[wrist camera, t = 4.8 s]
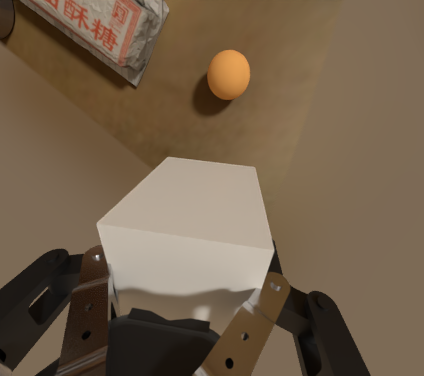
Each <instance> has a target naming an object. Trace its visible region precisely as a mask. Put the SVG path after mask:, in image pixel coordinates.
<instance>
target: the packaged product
mask: <svg viewBox="0 0 424 376" xmlns="http://www.w3.org/2000/svg"><path fill="white" fill-rule="evenodd" d="M20 1H21V2H22V3H24V4H25V5H26V6H28V7H29V8H31V9H32V10H34V11H35V12H36V13H38V14H39V15H40V16H42V17H43V18H44V19H46V20H47V21H48V22H50V23H51V24H52V25H54V26H55V27H56V28H58V29H59V30H60V31H62V32H63V33H64V34H66V35H67V36H69V37H70V38H71V39H72V40H74V41H75V42H76V43H78V44H79V45H81V46H82V47H84V48H86V49H88V50H89V51H90V53H92V54H93V55H94V56H96V57H97V58H98V59H100V60H101V61H102V62H104V63H105V64H107V65H108V66H110V67H111V68H112V69H113V70H115V71H116V72H117V73H119V74H120V75H121V76H123V77H124V78H125V79H127V80H128V81H129V82H131V83H132V84H134V85H135V86H136V87H137V86H138V84H139V82H140V80H141V77H142V75H143V73H144V71H145V68H146V66H147V63H148V61H149V59H150V56H151V54H152V51H153V48H154V46H155V43H156V41H157V39H158V36H159V34H160V32H161V29H162V27H163V25H164V22H165V20H166V17H167V15H168V12H169V8H168V6H167V5H166V3H165V2H164V0H20Z"/></svg>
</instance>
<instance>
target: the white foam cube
mask: <svg viewBox="0 0 424 376" xmlns="http://www.w3.org/2000/svg"><path fill="white" fill-rule="evenodd" d="M96 225H97V228H98V232H99V235H100V239H101V243H102V246H103V250H104V253H105V257H106V260H107V263H109V264H111V266H112V270H113V285H114V289H118V292H119V306H120V310H121V314H122V315H126V314H129V313H130V311H131V309H132V308H138V309H143V310H149V311H152V312H154V313H156V314H158V315H159V316H161V317H163V318H165V319H167V320H178V319H187V318H192V319H198V320H203V321H209V322H210V327H209V328H210V329H212V330H214V331H215V332H216V333H218V334H219V335H220V336H221V335H222V334H223V332H224V331H225V329H226V328H227V326H228V325H229V324H230V322H231V321H232V319H233V318H234V316H235V315H236V313H237V312H238V310H239V309H240V307H241V306H242V304H243V303H244V302H245V301H248V300H249V298H250V297H251V295H252V294H253V292H254V291H255V289H256V288H260V289H262V286H263V283H264V280H265V277H266V274H267V271H268V268H269V265H270V262H271V259H272V256H273V253H274V246H273V242H272V238H271V233H270V229H269V225H268V221H267V216H266V212H265V208H264V204H263V199H262V195H261V191H260V187H259V182H258V178H257V174H256V169H255V167H249V166H241V165H233V164H224V163H216V162H208V161H199V160H191V159H183V158H174V157H167V158H166V159H165V160H164V161H163V162H162V163H161V164H160V165H159V166H158V167H157V168H156V169H154V170H153V171H152V172H151V173H150V174H149V175H148V176H147V177H146V178H145V179H144V180H143V181H141V182H140V183H139V184H138V185H137V186H136V187H135V188H134V189H133V190H132V191H131V192H130V193H129V194H127V195H126V196H125V197H124V198H123V199H122V200H121V201H120V202H119V203H118V204H117V205H116V206H115V207H114V208H112V209H111V210H110V211H109V212H108V213H107V214H106V215H105V216H104V217H103V218H102V219H101V220H99V221H98V222H97V223H96Z"/></svg>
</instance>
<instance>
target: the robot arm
mask: <svg viewBox="0 0 424 376" xmlns="http://www.w3.org/2000/svg"><path fill="white" fill-rule="evenodd" d="M13 22H14V10H13V3H12V0H0V39H1V38H4V37H6V36H7V35H8V34H9V33H10V31H11V29H12V26H13ZM272 242H273V246H274V253H273V256H272V259H271V262H270V265H269V268H268V271H267V274H266V277H265V280H264V283H263V286H262V289H260V288H256V289H255V291H254V292H253V294H252V295H251V297H250V298H249V300H248V301H245V302H244V303H243V304H242V306H241V307H240V309H239V310H238V312H237V313H236V315H235V316H234V318H233V319H232V321H231V322H230V324H229V325H228V326H227V328H226V329H225V331H224V332H223V334H222V335H221V336H220V335H219V334H218V333H216V332H215V331H214V330H212V329H210V328H209V327H210V322H209V321H203V320H198V319H192V318H187V319H178V320H167V319H165V318H163V317H161V316H159V315H158V314H156V313H154V312H152V311H149V310H143V309H138V308H132V309H131V311H130V313H129V314H126V315H122V316H121V315H120V306H119V292H118V289H114V285H113V270H112V266H111V264H109V263H107V260H106V257H105V253H104V250H103V246H102V245H98V246H95V247H93V248H91V249H89V250H88V251H86V252H85V254H77V255H69V254H68V251H66V250H65V249H55V250H51V251H49V252H47V253H45V254H43V255H42V256H41V257H39V258H38V259H37V260H36V261H34V262H33V263H32V264H31V265H29V266H28V267H27V268H26V269H25V270H23V271H22V272H21V273H20V274H19V275H17V276H16V277H15V278H14V279H12V280H11V281H10V282H9V283H7V284H6V285H5V286H4V287H3V288H1V289H0V376H12V371H13V370H14V369H15V368H16V367H17V365H18V364H19V363H20V362H21V360H22V359H23V358H24V357H25V356H26V354H27V353H28V352H29V351H30V349H31V348H32V347H33V346H34V345H35V343H36V342H37V341H38V340H39V339H40V337H41V336H42V335H43V334H44V332H45V331H46V330H47V329H48V328H49V326H50V325H51V324H52V322H53V321H54V320H55V319H56V318H57V316H58V315H59V314H60V313H61V312H62V311H63V309H64V308H65V307H66V306H67V304H68V303H69V302H70V306H69V312H68V317H67V322H66V328H65V333H64V339H63V344H62V349H61V355H60V357H59V358H58V359H57V360H56V361H54V362H53V363H52V364H50V365H49V366H47V367H46V368H45V369H43V370H42V371H40V372H39V373H38V374H36V375H35V376H251V374H252V372H253V370H254V367H255V365H256V363H257V361H258V359H259V357H260V354H261V352H262V350H263V348H264V346H265V344H266V342H267V340H268V338H269V336H270V333H271V331H272V329H273V327H274V325H275V324H276V325H278V326H280V327H281V328H283V329H285V330H287V331H289V332H291V333H292V334H293V338H294V342H295V346H296V350H297V354H298V358H299V363H300V366H301V371H302V375H303V376H370V373H369V371H368V369H367V367H366V365H365V363H364V361H363V359H362V357H361V355H360V353H359V351H358V348H357V346H356V344H355V342H354V340H353V338H352V336H351V334H350V332H349V330H348V328H347V326H346V324H345V321H344V319H343V318H342V315H341V313H340V311H339V309H338V307H337V305H336V304H335V302H334V301H333V300H332V299H331V298H330V297H328V296H327V295H326V294H324V293H322V292H319V291H312V292H310V293H309V294H306V293H303V292H301V291H299V290H297V289H295V288H293V287H292V286H291V285H290V284H289V282H288V281H287V279H286V278H285V277H284V276H283V274H282V270H281V266H280V262H279V258H278V255H277V250H276V246H275V242H274V240H273V239H272ZM46 287H48V289H47V290H46V291H45V292H44V293H43V295H41V296H40V298H38V300H37V301H36V302H35V303H34V304H33V305H32V306H31V307H30V308H29V306H30V304H31V303H32V302H33V300H34V299H35V298H36V297H37V296H38V295H39V294H40V293H41V292H42V291H43V290H44V289H45V288H46Z"/></svg>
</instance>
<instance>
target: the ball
mask: <svg viewBox="0 0 424 376" xmlns="http://www.w3.org/2000/svg"><path fill="white" fill-rule="evenodd" d="M207 79H208V84H209V87H210V89H211V91H212V92H213V93H214V94H215V95H216V96H217V97H219V98H221V99H224V100H232V99H235V98H237V97H239V96H240V95H241V94H242V93H243V92H244V91H245V89H246V88H247V86H248V83H249V79H250V68H249V65H248V62H247V60H246V59H245V57H244V56H243V55H242V54H241V53H239V52H237V51H234V50H225V51H222V52H220V53H219V54H217V55H216V56H215V57H214V58H213V59H212V61H211V63H210V65H209V68H208V73H207Z"/></svg>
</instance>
